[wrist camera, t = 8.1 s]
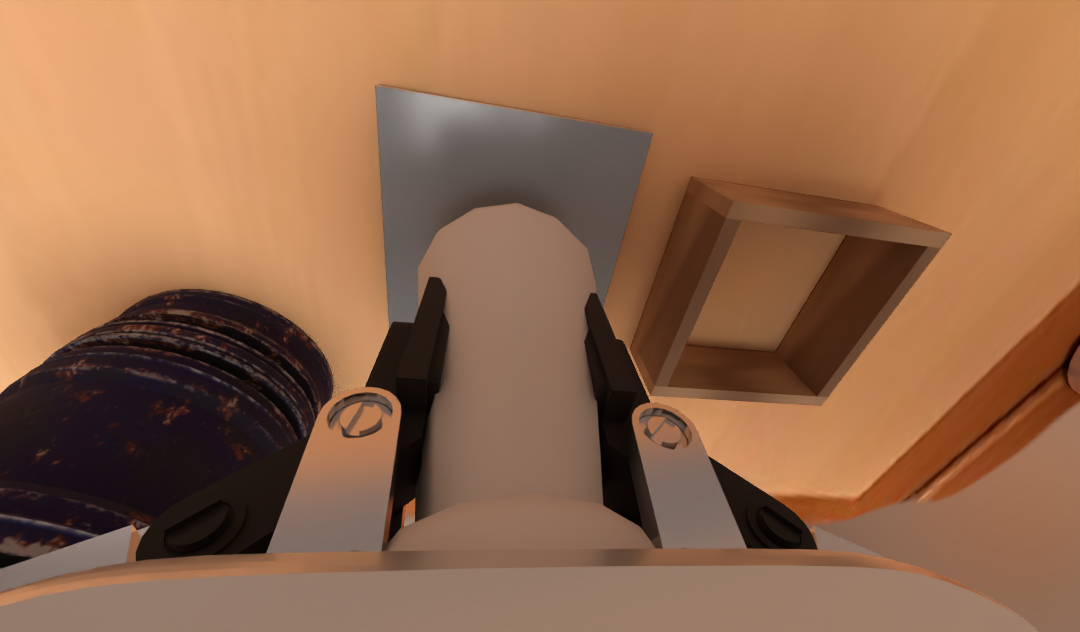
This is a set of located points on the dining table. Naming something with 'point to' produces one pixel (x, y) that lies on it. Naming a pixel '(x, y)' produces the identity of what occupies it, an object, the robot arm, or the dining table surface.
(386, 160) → the coaster
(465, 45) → the dining table surface
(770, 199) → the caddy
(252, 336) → the dark blue cylinder
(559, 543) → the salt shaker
